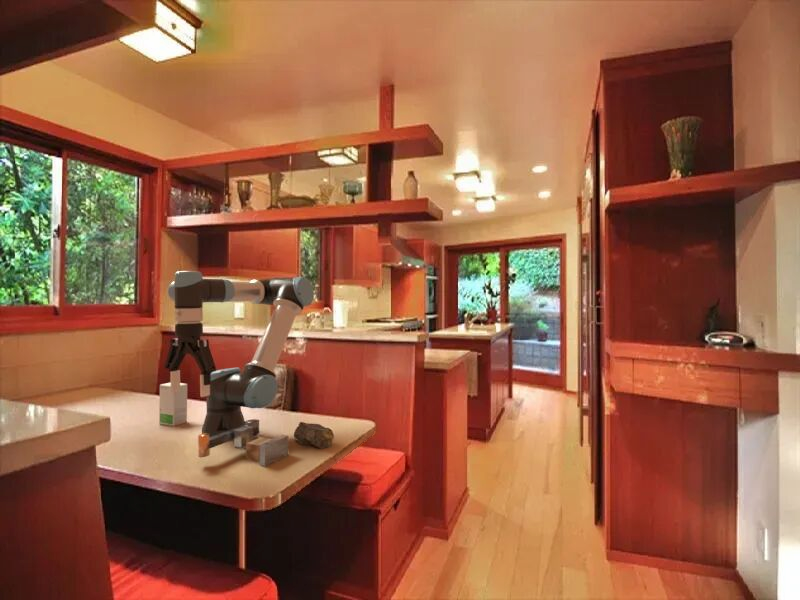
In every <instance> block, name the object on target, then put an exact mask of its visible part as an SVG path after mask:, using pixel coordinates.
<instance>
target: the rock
mask: <svg viewBox="0 0 800 600" xmlns="http://www.w3.org/2000/svg"><path fill="white" fill-rule="evenodd" d="M293 437H294V439H295V440H296V441H297V442H298V443H300V444H301V445H313V446H314V447H316V448H318V449H324V448H326V447H327V448H328V447H331V445H332V444H331V443H332V442H333V440H334V438H335V435H334V432H333V430H332V429H331V428H330V427H325V426H323V425H321V424H320V423H309V422H308V423H307V422H304V421H300V422H299V423H298V426H296V428H295V430H294V432H293Z"/></svg>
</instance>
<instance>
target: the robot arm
mask: <svg viewBox="0 0 800 600" xmlns="http://www.w3.org/2000/svg"><path fill="white" fill-rule="evenodd" d="M313 288H314V286H313V284H312V283H311V281H310V280H309V279H308V278H306V277H304V276H294V277H293V276H292V277H271V278H265V279H252V280H250V281H231V280H229V279H224V278H203V274H202V272H201V271H197V270H196V271H195V270H181V271H176V272H175V273H174V279H173V281H172V282H171V283H170V284H169V286H168V289H167V294H168V296H169V298H170V300H171V301H172V302H174V322H176V323H175V325H174V335H175V336H176V338H171V339H170V342H169V343H170V344H169V345H170V346H169V348H168V349H169V350H168V353H167V356H166V359H165V363H164V367H163V368H164V369H167V370H168V371H169V382H171V393H175V392H180V383H181V370H180V365H182V362H183V360H184V359H185V357H186V355H190V356H191V357H193V358H194V361H195V362H196V364H197V366H198V368H199V369H200V374H199V387H200V388H199V392H200V393H199V394H200V395H199V397H201V398H206V401H205V402H206V414H205V418H204V420H203V425H202V427H201V434H204V433H208V434H209V437H212V436H215V435H218V434H221V433H223V432H226V431H229V430H232V429H235V428H237V427H240V426H243V425H245V421H246V420H245V417H244V415H243V412H242V407H244V408H249V409H263V408H266V407H268V406H270V405H271V404H272V403H273V401H274V400H275V398H276V397H277V394H278V391H279V390H278V389H279V388H278V385H279V383H278V381H277V379H276V378H277V374H276V372H275V368H276V366H277V364H278V362H279V359H280V356H281V355H282V351H283V349H284V347H285V344H286V343H287V342H286V341H287V338H288V337H289V334H290V332H291V329H292V327H293V324H294V322H295V319H296V316H299V315H301V314H302V312H303V309H304V308H305V307H308V306H310V305H312V304H313V301H314V295H315V292H314V289H313ZM229 302H231V303H233V302H237V303H238V302H249V303H252V304H254V305H255V304H256V305H257V304H258V305H267V306H274V309H273V312H272V314H271V316H270V318H269V321H268V323H267V325H266V328H265V330H264V332H263V335H262V337H261V339H260V342H259V343H258V346H257V348H256V351H255V353H254V355H253V358H252V359H251V361H250V362H249V363H246V364H245V365H244V367H243V369H242V371H241V368H240V367H230V368H224V369H223V368H222V369H217V367H216V364H215V361H214V358H213V355H212V353H211V352H212V351H211V348H210V341H209V339H208V338H207V339H201V336H202V335H204V334H203V333H204V331H203V330H204V329H203V328H204V326H203V325H204V324H203V323H202V322H203V321H204V320H203V318H204V315H203V314H204V312H203V311H204V310H203V308H204V307H203V304H204V303H222V304H223V303H229Z"/></svg>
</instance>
